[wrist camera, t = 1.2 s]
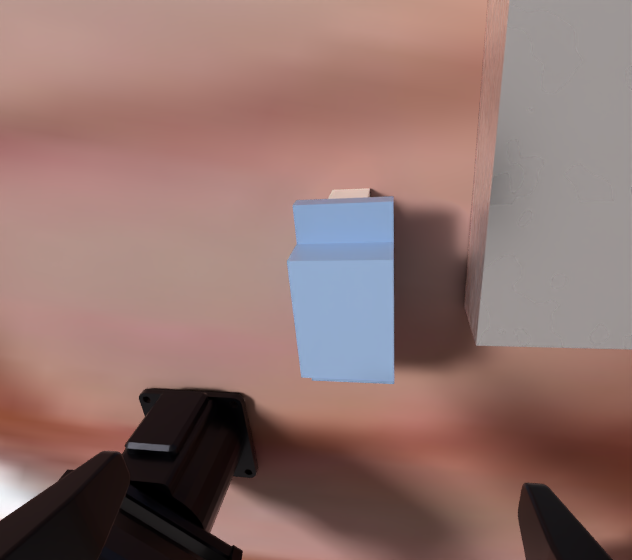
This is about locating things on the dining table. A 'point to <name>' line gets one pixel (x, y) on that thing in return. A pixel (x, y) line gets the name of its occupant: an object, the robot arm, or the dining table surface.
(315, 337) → the block
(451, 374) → the dining table surface
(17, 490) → the dining table surface
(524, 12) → the mount plate
